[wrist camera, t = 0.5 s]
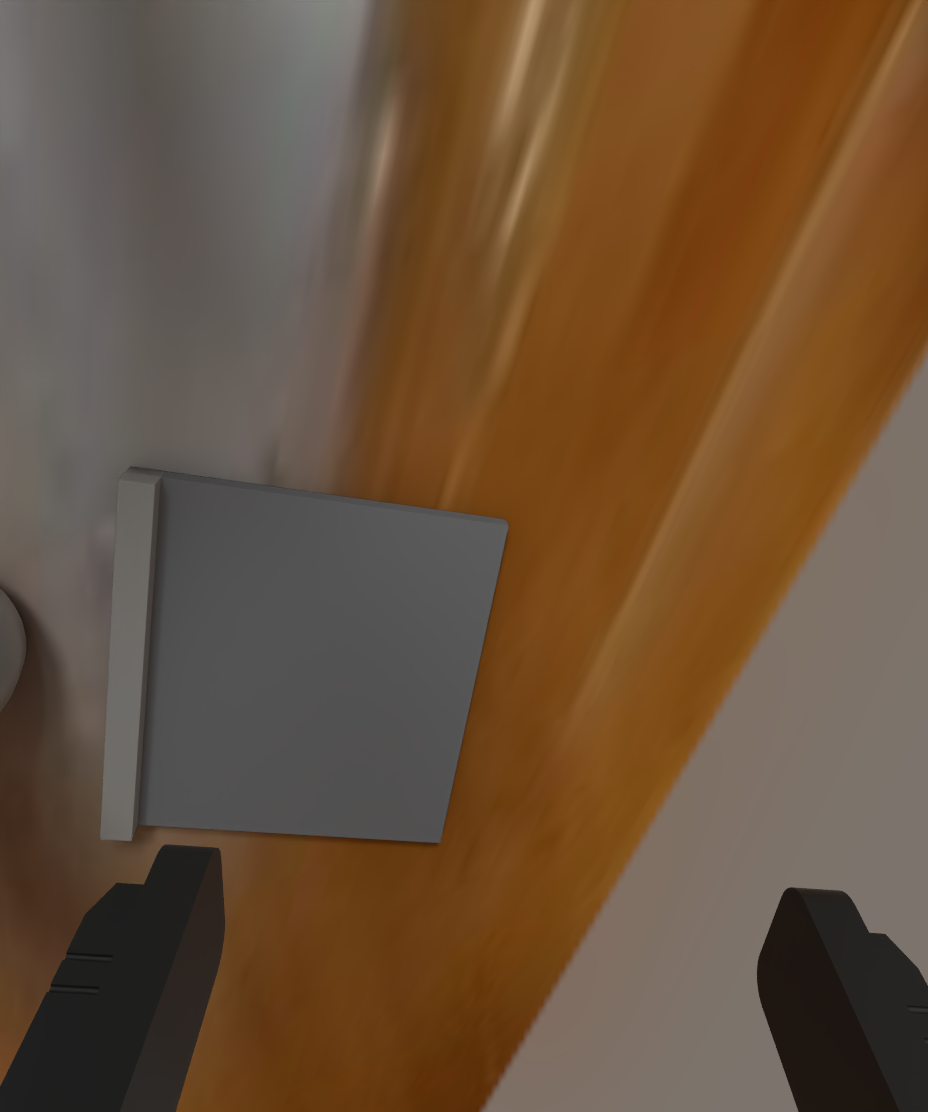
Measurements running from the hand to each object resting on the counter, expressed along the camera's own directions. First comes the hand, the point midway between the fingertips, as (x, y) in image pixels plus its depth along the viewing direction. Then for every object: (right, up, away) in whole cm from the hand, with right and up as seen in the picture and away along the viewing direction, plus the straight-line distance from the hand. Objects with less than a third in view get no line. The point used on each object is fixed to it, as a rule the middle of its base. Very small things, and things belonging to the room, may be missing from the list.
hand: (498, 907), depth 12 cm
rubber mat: (-7, 0, +22) cm, 23 cm away
